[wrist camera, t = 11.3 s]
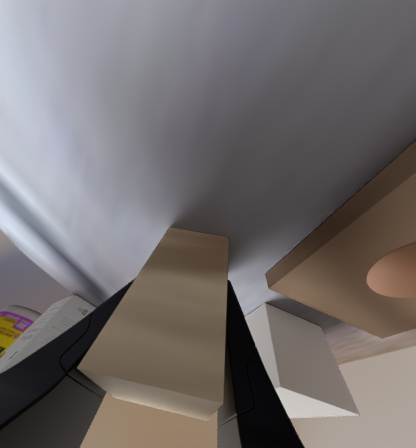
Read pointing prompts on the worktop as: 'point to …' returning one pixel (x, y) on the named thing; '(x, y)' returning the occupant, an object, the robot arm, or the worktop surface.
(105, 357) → the tan rectangular block
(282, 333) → the block
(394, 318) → the board
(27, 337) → the skincare box
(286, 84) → the worktop surface
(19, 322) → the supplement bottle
